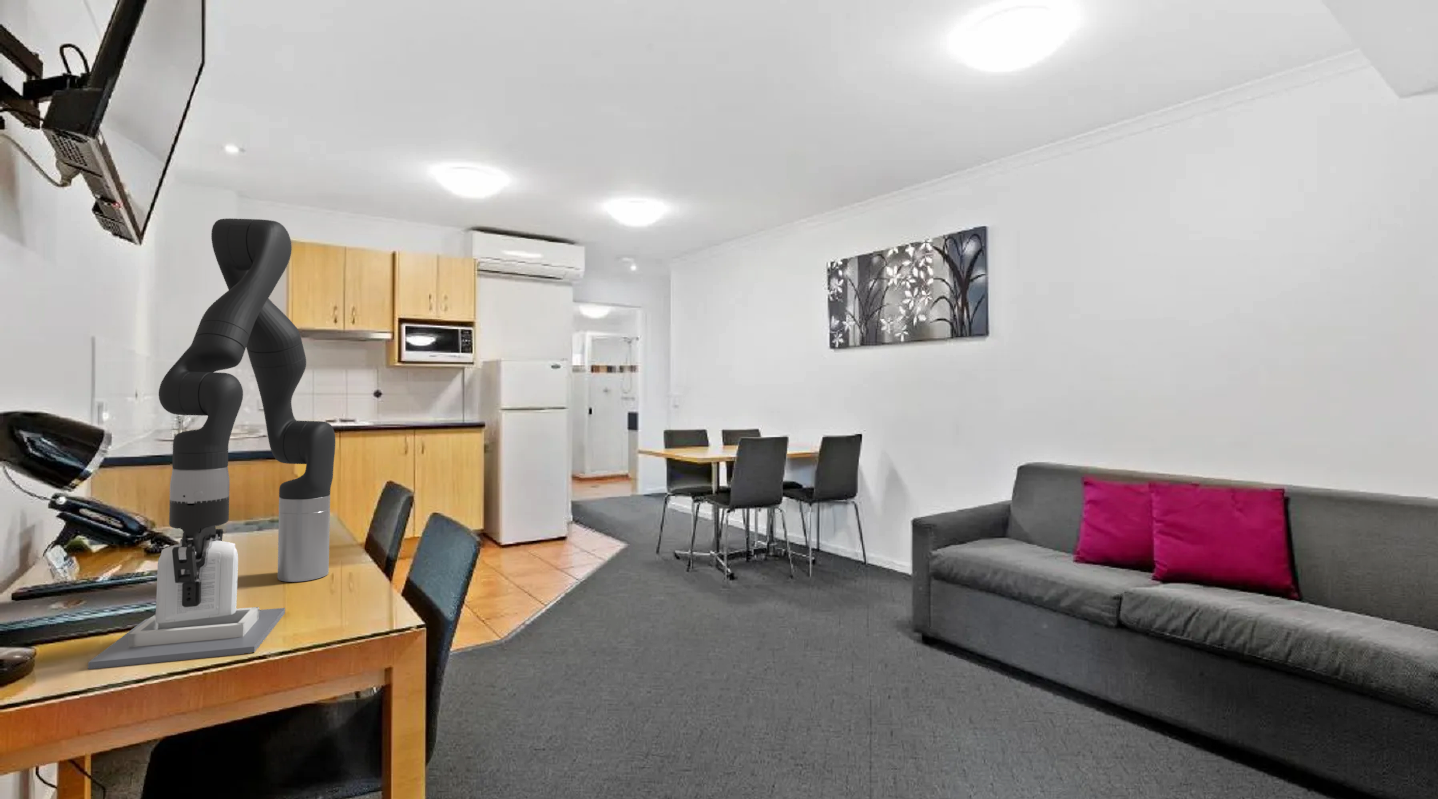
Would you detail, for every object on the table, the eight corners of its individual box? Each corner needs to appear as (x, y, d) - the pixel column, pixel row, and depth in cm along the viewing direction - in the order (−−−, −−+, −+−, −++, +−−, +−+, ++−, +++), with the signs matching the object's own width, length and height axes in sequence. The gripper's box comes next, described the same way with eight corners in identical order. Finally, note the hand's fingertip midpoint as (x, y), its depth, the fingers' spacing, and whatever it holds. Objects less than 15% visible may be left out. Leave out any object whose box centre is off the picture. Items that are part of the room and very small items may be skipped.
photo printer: (237, 608, 109) (239, 535, 109) (235, 616, 106) (237, 540, 106) (158, 618, 104) (159, 541, 104) (153, 627, 100) (154, 547, 100)
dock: (146, 624, 110) (146, 607, 110) (284, 613, 117) (285, 596, 117) (88, 669, 93) (88, 648, 93) (254, 652, 100) (254, 633, 100)
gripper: (189, 489, 110) (187, 589, 110) (150, 504, 96) (148, 618, 97) (242, 488, 113) (240, 585, 113) (212, 502, 99) (209, 613, 99)
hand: (198, 600), depth 105 cm, fingers closed on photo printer, 4 cm apart
